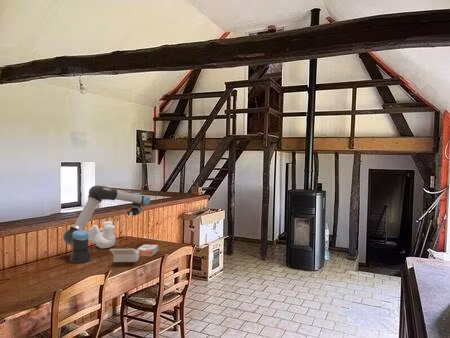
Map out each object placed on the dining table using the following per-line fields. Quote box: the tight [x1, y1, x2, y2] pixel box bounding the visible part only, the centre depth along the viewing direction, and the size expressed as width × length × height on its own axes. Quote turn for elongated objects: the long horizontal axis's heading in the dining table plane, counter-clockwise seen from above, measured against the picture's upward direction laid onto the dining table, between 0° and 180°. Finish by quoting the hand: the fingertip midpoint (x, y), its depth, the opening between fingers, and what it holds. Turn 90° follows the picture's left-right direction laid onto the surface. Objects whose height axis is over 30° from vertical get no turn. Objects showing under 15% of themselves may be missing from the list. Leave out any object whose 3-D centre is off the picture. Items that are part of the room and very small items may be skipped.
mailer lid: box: [109, 248, 137, 256], centre depth 269 cm, size 14×18×1 cm
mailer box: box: [113, 249, 140, 263], centre depth 282 cm, size 14×18×6 cm
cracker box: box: [135, 243, 160, 258], centre depth 301 cm, size 14×6×21 cm
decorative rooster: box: [87, 220, 117, 249], centre depth 323 cm, size 25×16×25 cm, turn 81°
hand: (130, 214), depth 298 cm, fingers closed
